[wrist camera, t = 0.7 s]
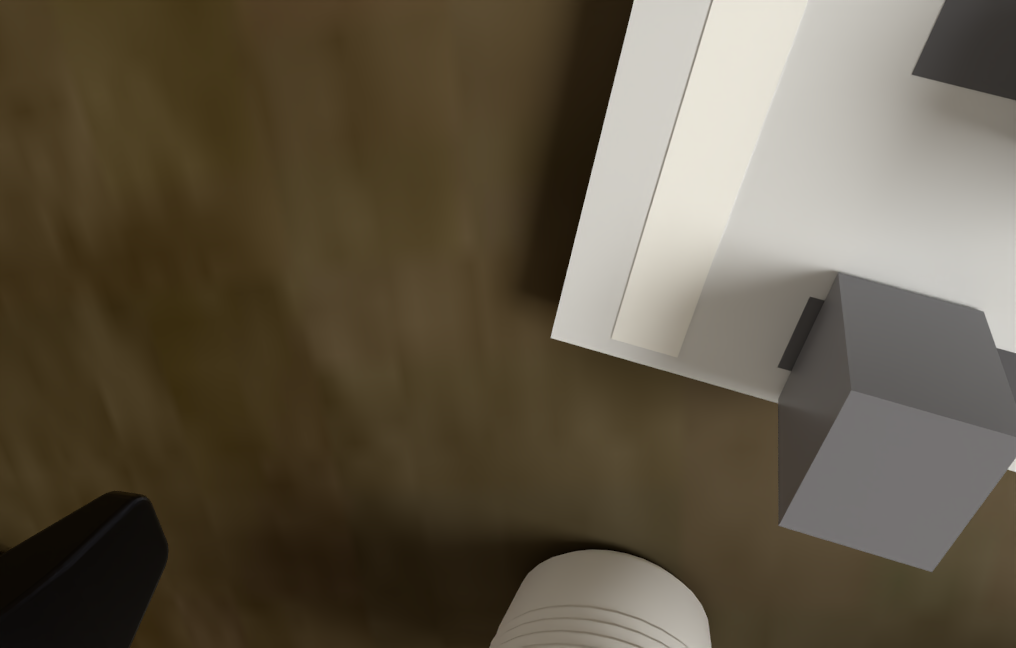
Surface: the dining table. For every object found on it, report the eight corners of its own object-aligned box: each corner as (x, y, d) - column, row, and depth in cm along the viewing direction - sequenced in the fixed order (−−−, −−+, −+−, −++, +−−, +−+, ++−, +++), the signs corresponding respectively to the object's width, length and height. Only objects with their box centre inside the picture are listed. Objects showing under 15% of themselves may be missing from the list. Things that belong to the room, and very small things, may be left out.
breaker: (983, 311, 18) (1028, 440, 15) (907, 435, 20) (932, 572, 17) (838, 272, 18) (851, 390, 15) (778, 399, 20) (778, 525, 17)
